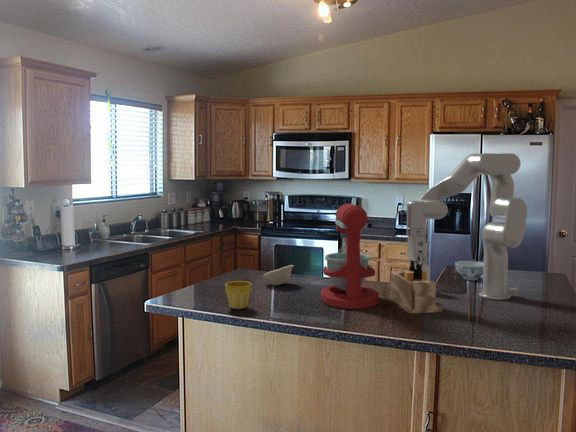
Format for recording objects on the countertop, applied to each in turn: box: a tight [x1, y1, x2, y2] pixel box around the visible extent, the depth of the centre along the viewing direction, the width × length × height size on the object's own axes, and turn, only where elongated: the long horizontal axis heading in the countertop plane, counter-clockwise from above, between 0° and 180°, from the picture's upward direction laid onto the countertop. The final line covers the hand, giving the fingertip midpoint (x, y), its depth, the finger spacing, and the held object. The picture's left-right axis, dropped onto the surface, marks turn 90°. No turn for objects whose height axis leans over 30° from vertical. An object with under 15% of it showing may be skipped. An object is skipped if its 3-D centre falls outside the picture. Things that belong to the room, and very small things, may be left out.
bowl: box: [262, 264, 294, 286], centre depth 245 cm, size 15×14×10 cm
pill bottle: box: [417, 258, 431, 281], centre depth 229 cm, size 8×8×15 cm
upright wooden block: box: [403, 270, 427, 298], centre depth 207 cm, size 8×3×10 cm, turn 97°
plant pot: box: [224, 280, 253, 308], centre depth 204 cm, size 10×10×10 cm
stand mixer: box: [320, 203, 380, 310], centre depth 215 cm, size 24×32×40 cm
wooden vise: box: [389, 270, 443, 314], centre depth 208 cm, size 13×23×12 cm, turn 6°
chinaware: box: [454, 260, 484, 281], centre depth 256 cm, size 15×15×8 cm
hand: (415, 277), depth 207 cm, fingers open, 4 cm apart
